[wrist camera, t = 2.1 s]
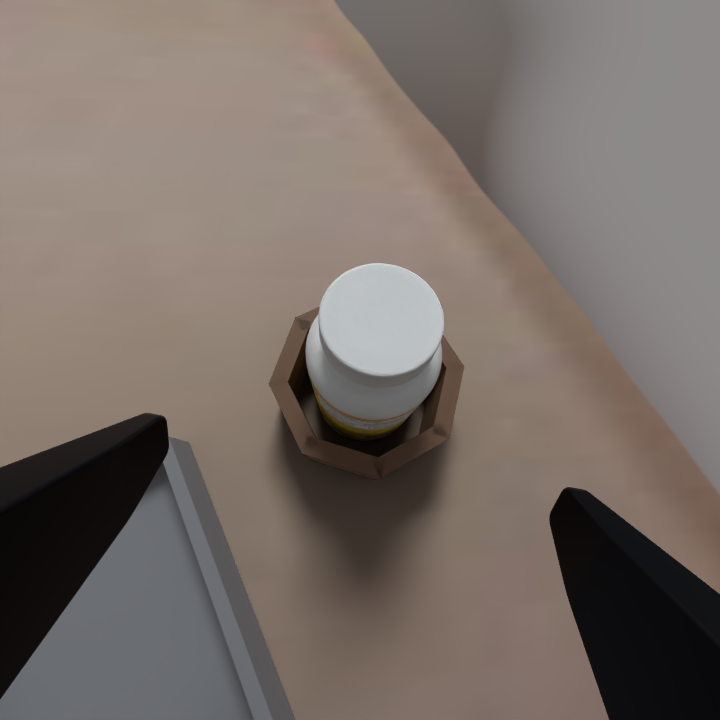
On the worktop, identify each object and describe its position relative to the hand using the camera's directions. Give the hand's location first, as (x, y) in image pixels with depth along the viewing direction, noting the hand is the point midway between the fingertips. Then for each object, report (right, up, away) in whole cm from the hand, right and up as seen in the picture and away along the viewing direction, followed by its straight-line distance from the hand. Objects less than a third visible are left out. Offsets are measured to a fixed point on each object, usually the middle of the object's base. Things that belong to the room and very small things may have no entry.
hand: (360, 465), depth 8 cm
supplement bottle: (0, 0, +12) cm, 12 cm away
